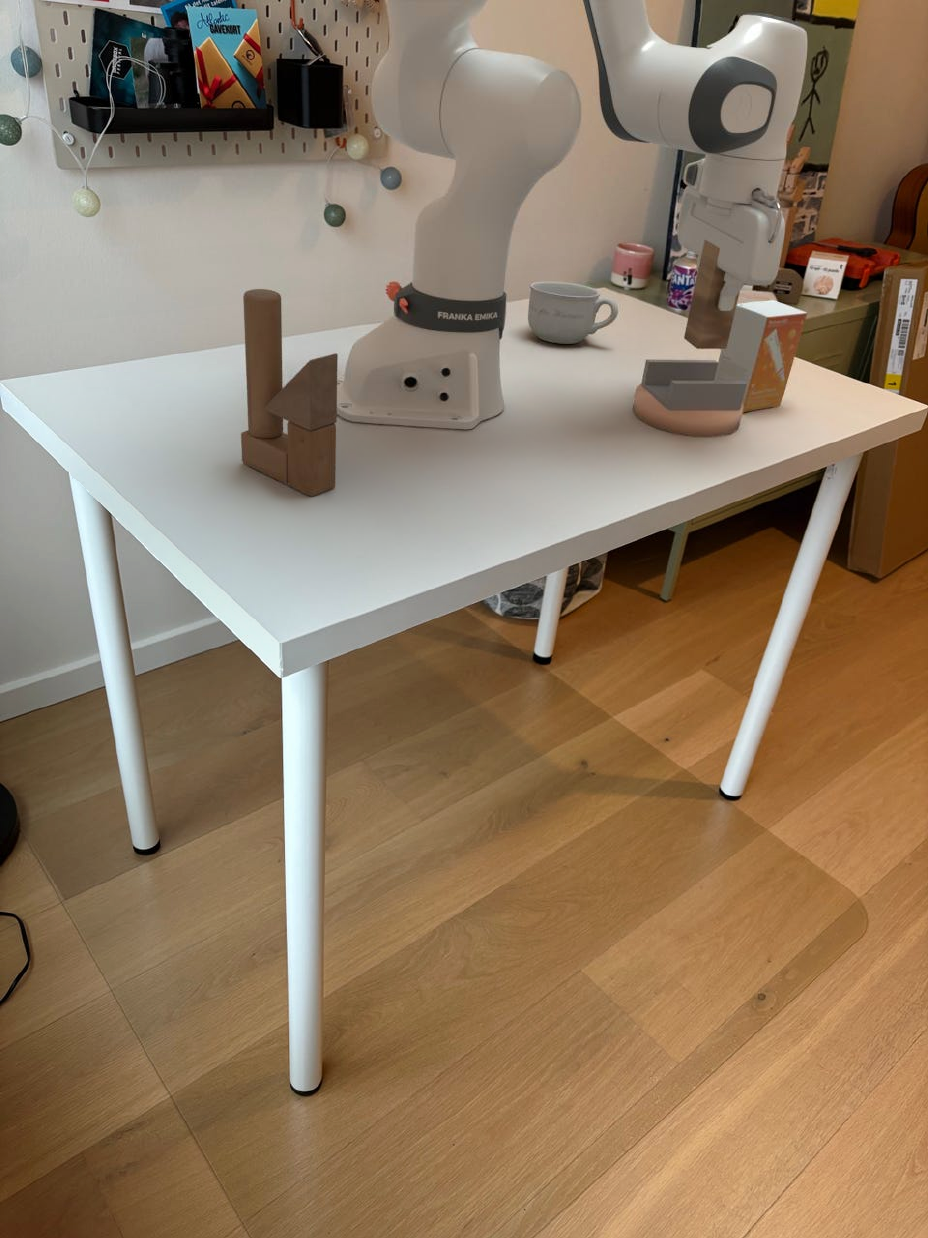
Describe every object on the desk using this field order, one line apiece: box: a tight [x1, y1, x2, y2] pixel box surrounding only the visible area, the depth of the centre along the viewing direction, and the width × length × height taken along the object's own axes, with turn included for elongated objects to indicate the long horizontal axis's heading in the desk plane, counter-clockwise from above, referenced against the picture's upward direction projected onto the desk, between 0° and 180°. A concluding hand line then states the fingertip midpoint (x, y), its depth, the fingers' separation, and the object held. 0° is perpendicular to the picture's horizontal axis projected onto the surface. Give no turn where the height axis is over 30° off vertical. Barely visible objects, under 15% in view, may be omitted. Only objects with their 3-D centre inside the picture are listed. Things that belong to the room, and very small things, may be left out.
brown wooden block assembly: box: [240, 288, 339, 497], centre depth 95 cm, size 4×11×18 cm, turn 51°
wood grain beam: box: [683, 240, 741, 350], centre depth 117 cm, size 4×4×12 cm
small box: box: [714, 299, 808, 413], centre depth 129 cm, size 8×6×13 cm
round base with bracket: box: [632, 358, 747, 438], centre depth 124 cm, size 14×14×6 cm
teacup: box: [527, 280, 619, 345], centre depth 147 cm, size 14×11×8 cm
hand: (713, 302), depth 118 cm, fingers closed on wood grain beam, 4 cm apart
